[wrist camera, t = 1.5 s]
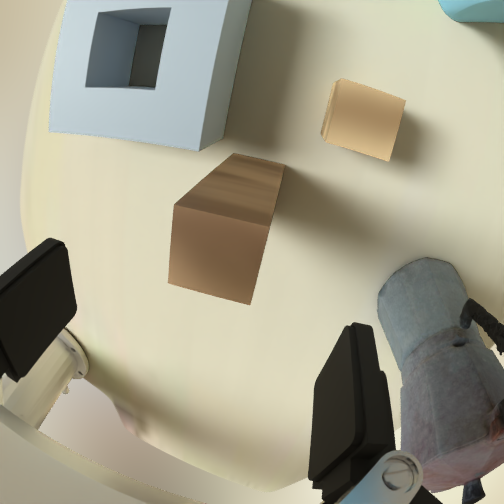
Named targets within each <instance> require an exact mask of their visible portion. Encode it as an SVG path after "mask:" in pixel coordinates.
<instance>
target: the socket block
mask: <svg viewBox="0 0 504 504" xmlns="http://www.w3.org/2000/svg"><path fill="white" fill-rule="evenodd" d="M251 3H252V0H67V4H66V8H65V12H64V16H63V20H62V25H61V30H60V35H59V40H58V46H57V52H56V58H55V65H54V72H53V81H52V90H51V101H50V116H49V132H55V133H67V134H78V135H88V136H98V137H107V138H115V139H123V140H130V141H138V142H145V143H151V144H158V145H164V146H170V147H176V148H182V149H188V150H193V151H200V150H202V149H204V148H206V147H208V146H210V145H211V144H213V143H215V142H217V141H219V140H221V139H223V136H224V131H225V125H226V120H227V115H228V109H229V104H230V99H231V94H232V89H233V84H234V79H235V74H236V69H237V65H238V60H239V55H240V51H241V46H242V42H243V37H244V33H245V28H246V24H247V20H248V15H249V11H250V7H251ZM140 25H167V30H166V34H165V39H164V44H163V49H162V54H161V59H160V64H159V70H158V76H157V82H156V87H142V86H129V82H130V75H131V69H132V63H133V57H134V52H135V47H136V41H137V36H138V32H139V27H140Z"/></svg>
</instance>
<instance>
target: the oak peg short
mask: <svg viewBox="0 0 504 504" xmlns="http://www.w3.org/2000/svg"><path fill="white" fill-rule="evenodd" d="M405 102H406V100H403V99H401V98H398V97H396V96H393V95H390V94H388V93H385V92H382V91H379V90H376V89H374V88H371V87H368V86H365V85H362V84H358V83H355V82H352V81H349V80H346V79H340V80H338V81H336V82H334V83H333V86H332V90H331V94H330V98H329V102H328V106H327V110H326V115H325V119H324V123H323V127H322V130H321V135H322V137H323V138H324V140H325V142H327V143H330V144H334V145H337V146H341V147H344V148H347V149H351V150H354V151H357V152H360V153H363V154H367V155H370V156H373V157H376V158H379V159H382V160H385V161H388V162H389V160H390V156H391V153H392V150H393V146H394V143H395V139H396V136H397V132H398V129H399V125H400V121H401V118H402V114H403V110H404V106H405Z"/></svg>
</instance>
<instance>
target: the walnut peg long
mask: <svg viewBox="0 0 504 504" xmlns="http://www.w3.org/2000/svg"><path fill="white" fill-rule="evenodd" d="M284 168H285V165H284V164H280V163H275V162H271V161H267V160H262V159H258V158H254V157H249V156H244V155H240V154H235V153H233V154H232V155H231V156H230V157H228V158H227V159H226V160H225V161H224V162H222V163H221V164H220V165H219V166H218V167H216V168H215V169H214V170H213V171H212V172H211V173H209V174H208V175H207V176H206V177H205V178H204V179H202V180H201V181H200V182H199V183H198V184H197V185H196V186H194V187H193V188H192V189H191V190H190V191H189V192H188V193H186V194H185V195H184V196H183V197H182V198H181V199H180V200H179V201H178V202H176V203H175V204H174V210H173V221H172V233H171V245H170V260H169V276H168V283H169V284H173V285H176V286H180V287H183V288H187V289H190V290H194V291H198V292H201V293H205V294H209V295H213V296H216V297H220V298H224V299H228V300H232V301H235V302H239V303H243V304H247V305H250V304H251V300H252V296H253V292H254V288H255V285H256V281H257V277H258V273H259V269H260V265H261V261H262V257H263V253H264V249H265V245H266V241H267V237H268V233H269V229H270V225H271V221H272V217H273V213H274V209H275V205H276V201H277V197H278V193H279V189H280V184H281V180H282V176H283V172H284Z"/></svg>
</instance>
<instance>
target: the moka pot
mask: <svg viewBox="0 0 504 504" xmlns="http://www.w3.org/2000/svg"><path fill="white" fill-rule="evenodd" d="M377 312H378V318H379V320H380V323H381V325H382V328H383V330H384V333H385V335H386V337H387V340H388V342H389V344H390V347H391V350H392V352H393V355H394V357H395V360H396V362H397V365H398V368H399V370H400V371H401V376H402V383H403V386H402V388H401V392H400V393H401V450H402V451H406V452H409V453H410V454H412V455H414V456H415V457H416V458H417V460H418V461H419V462H420V464H421V466H422V469H423V482H422V484H421V485H422V486H423V487H425V488H426V489H427V490H428V491H429V490H431V493H436V492H441V491H445V490H449V489H451V488H453V487H456V486H460V485H464V489H463V497H462V504H474V503H476V502H478V501H479V500H481V499H482V498H484V497H485V493H484V491H483V488H482V484H481V481H480V478H482V477H483V476H485V475H486V474H488V473H489V472H491V471H492V470H494V469H495V468H497V467H498V466H500V465H501V464H502V463H504V369H503V367H502V365H501V364H500V363H499V360H498V359H497V357H496V356H495V354H494V352H493V351H492V350H490V349H488V348H486V347H485V345H484V342H483V340H482V338H481V337H480V334H479V331H478V327H477V324H478V325H480V326H482V327H483V329H484V331H485V332H487V334H488V336H489V337H490V338H491V339H492V340H493V341H494V342H495V344H496V345H497V350H498V351H499V352H500V355H502V352H504V325H502V324H501V323H498V320H497V319H496V318H495V317H494V316H492V315H491V314H490V313H488V312H487V311H486V310H485V308H484V307H482V306H481V305H480V304H478V303H476V302H475V301H474V300H473V299H471V298H469V299H468V296H467V293H466V290H465V287H464V285H463V282H462V280H461V278H460V277H459V275H458V273H457V272H456V270H455V269H454V268H453V266H452V265H451V264H450V263H447V262H445V261H441V260H437V259H431V258H422V259H419V260H416V261H414V262H411V263H409V264H407V265H405V266H404V267H402V268H401V269H400V270H398V271H397V272H395V273H394V274H393V275H392V276H391V277H390V278H389V280H388V281H387V282H386V283H385V285H384V286H383V287H382V289H381V291H380V292H379V295H378V310H377ZM476 323H477V324H476Z"/></svg>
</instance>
